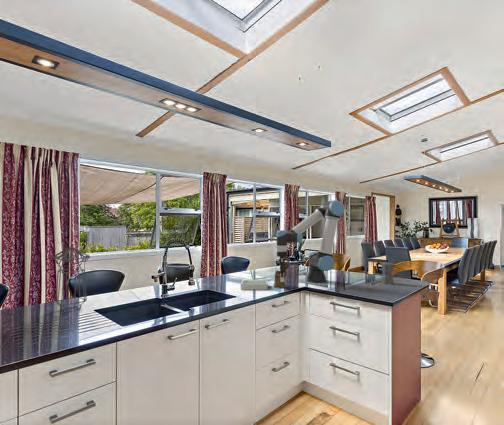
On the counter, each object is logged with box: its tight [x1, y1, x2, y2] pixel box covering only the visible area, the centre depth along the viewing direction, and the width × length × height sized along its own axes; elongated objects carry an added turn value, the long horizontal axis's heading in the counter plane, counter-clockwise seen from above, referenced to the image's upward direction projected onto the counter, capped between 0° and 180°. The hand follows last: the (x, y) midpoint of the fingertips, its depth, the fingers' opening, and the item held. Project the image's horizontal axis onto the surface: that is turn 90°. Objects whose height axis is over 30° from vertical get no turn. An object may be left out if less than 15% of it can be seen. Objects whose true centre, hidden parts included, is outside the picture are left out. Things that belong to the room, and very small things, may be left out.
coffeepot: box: [375, 259, 397, 285], centre depth 247 cm, size 15×9×18 cm, turn 44°
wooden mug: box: [273, 260, 291, 289], centre depth 237 cm, size 9×14×18 cm, turn 124°
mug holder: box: [240, 279, 269, 291], centre depth 234 cm, size 19×14×4 cm
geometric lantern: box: [50, 246, 91, 312], centre depth 179 cm, size 16×16×35 cm
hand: (282, 280), depth 237 cm, fingers open, 12 cm apart
